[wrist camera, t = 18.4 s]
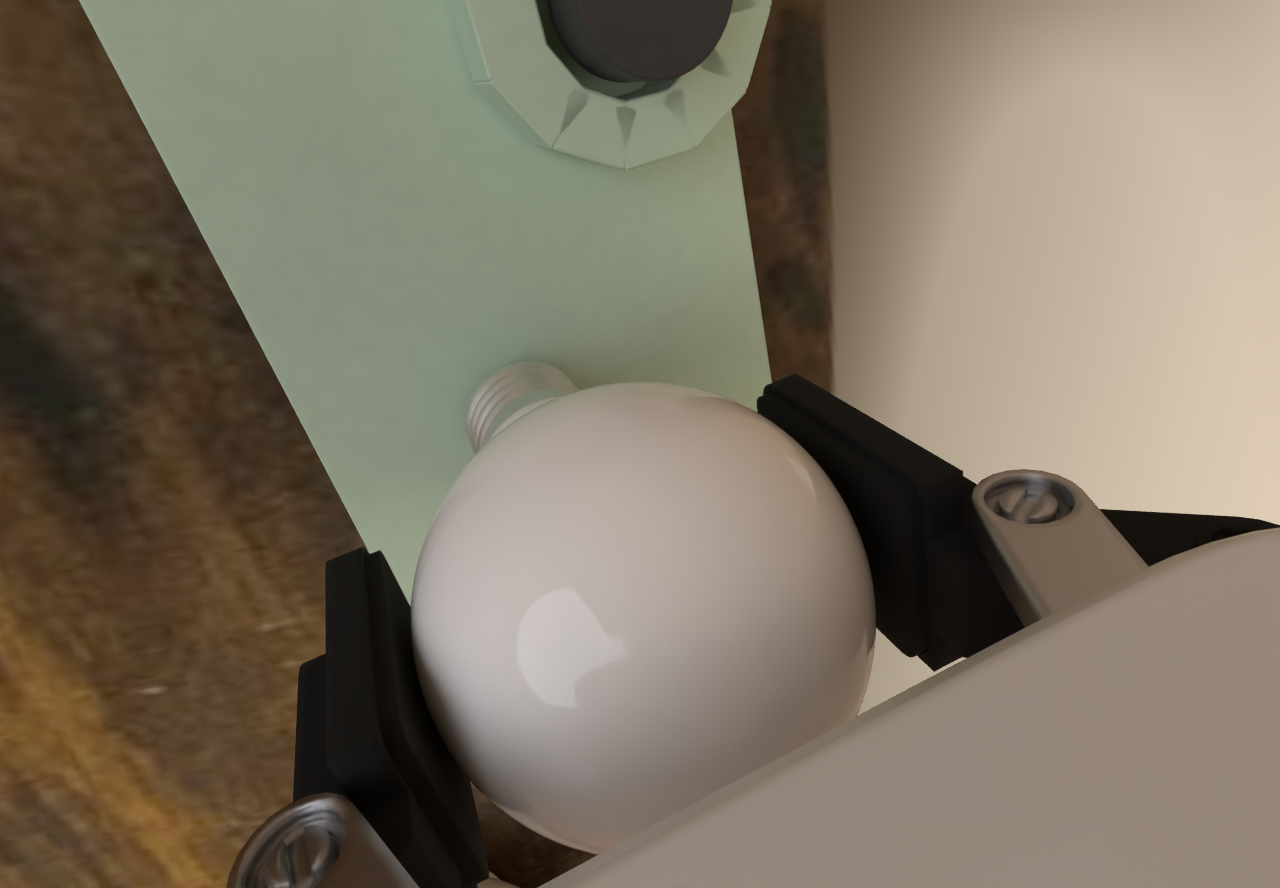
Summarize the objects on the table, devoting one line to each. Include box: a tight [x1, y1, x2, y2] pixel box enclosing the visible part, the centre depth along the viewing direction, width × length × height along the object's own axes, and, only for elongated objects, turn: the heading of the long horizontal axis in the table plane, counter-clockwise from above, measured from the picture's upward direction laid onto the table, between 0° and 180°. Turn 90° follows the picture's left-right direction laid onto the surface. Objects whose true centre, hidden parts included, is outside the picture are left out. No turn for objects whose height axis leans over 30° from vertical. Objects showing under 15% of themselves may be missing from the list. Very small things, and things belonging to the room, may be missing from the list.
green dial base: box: [79, 0, 772, 607], centre depth 16 cm, size 15×11×3 cm
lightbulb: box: [410, 361, 876, 855], centre depth 12 cm, size 6×6×11 cm
